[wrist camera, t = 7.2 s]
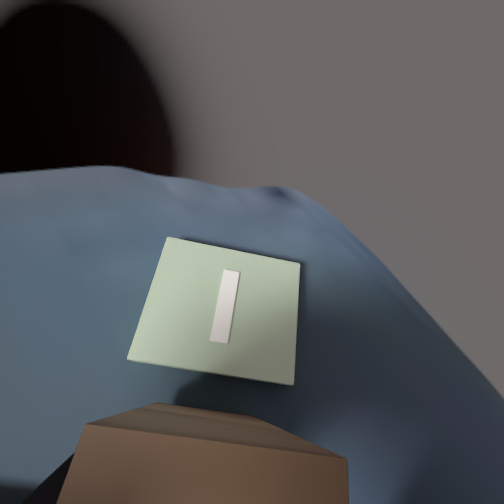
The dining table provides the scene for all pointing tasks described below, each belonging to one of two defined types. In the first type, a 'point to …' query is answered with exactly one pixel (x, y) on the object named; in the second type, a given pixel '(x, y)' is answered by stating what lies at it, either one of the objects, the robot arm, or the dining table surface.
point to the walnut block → (199, 461)
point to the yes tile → (220, 313)
